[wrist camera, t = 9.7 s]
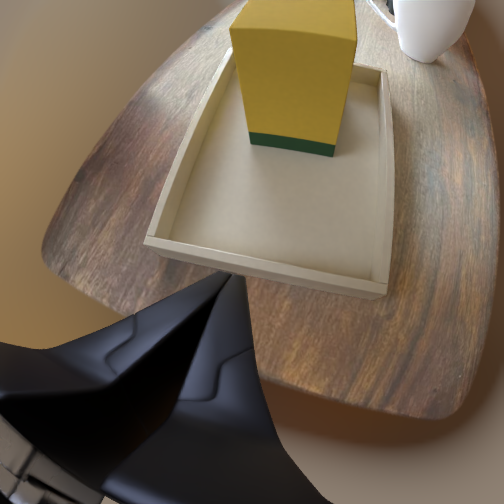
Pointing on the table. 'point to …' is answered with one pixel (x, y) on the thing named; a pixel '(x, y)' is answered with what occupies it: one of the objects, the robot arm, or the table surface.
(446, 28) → the mug
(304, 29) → the block
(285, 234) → the tray
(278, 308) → the table surface
